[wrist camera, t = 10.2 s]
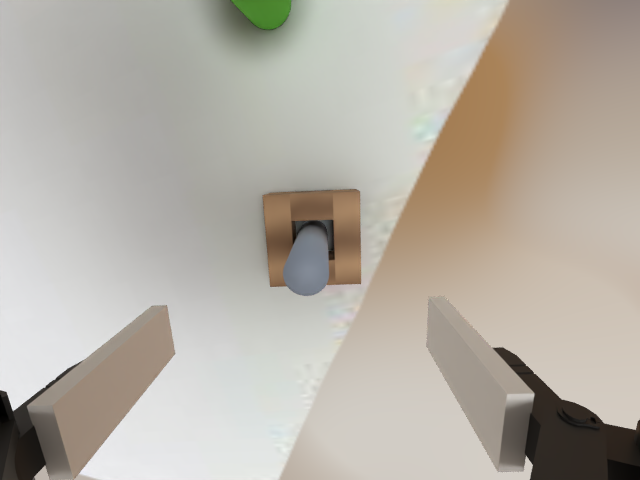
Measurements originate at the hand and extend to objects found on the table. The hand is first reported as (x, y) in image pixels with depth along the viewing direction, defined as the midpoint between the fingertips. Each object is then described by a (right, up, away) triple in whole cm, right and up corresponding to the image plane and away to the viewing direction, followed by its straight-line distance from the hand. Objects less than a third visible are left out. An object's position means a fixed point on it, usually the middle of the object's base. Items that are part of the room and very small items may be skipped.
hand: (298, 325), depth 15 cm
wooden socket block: (0, +5, +24) cm, 25 cm away
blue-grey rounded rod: (0, +5, +24) cm, 25 cm away
